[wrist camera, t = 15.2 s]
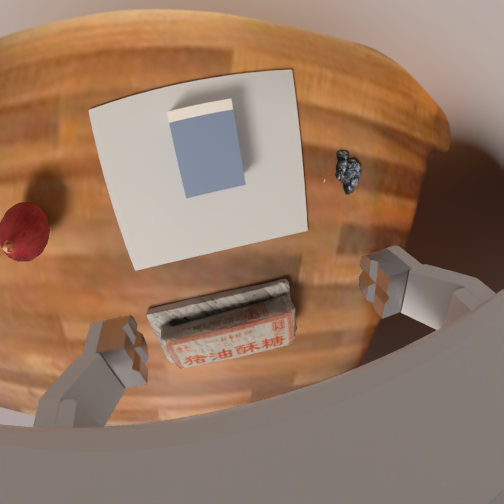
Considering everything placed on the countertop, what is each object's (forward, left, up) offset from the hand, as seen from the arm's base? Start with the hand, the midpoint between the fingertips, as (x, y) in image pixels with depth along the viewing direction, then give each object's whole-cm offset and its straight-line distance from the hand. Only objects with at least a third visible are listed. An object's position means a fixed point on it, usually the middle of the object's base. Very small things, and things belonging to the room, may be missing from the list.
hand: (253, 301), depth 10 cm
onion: (-19, 0, -22) cm, 29 cm away
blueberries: (+15, -3, -22) cm, 27 cm away
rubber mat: (0, 0, -21) cm, 21 cm away
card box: (+1, -2, -19) cm, 19 cm away
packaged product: (-2, -20, -22) cm, 30 cm away
